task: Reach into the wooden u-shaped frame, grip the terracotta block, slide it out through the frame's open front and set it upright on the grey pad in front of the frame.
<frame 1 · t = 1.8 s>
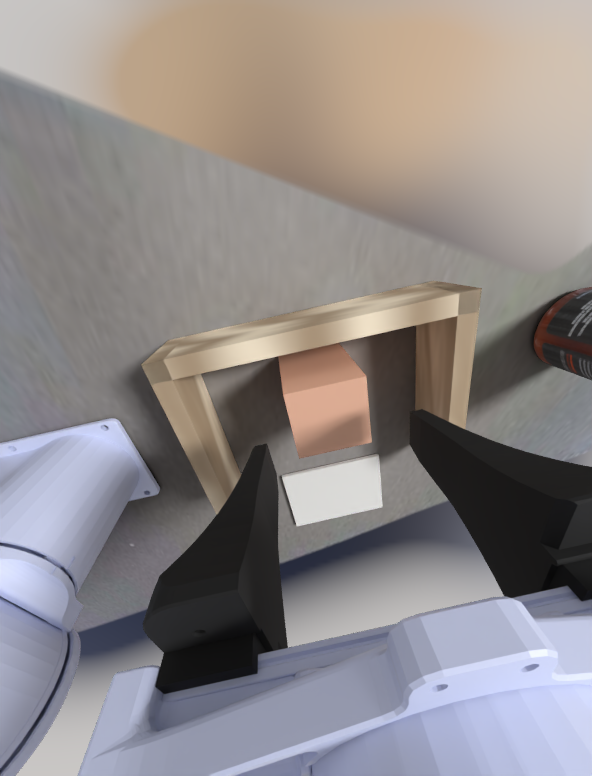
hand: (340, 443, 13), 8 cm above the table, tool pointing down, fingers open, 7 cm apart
wooden u-shaped frame: (316, 394, 21), on the table
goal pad: (334, 490, 26), on the table
supplement bottle: (564, 325, 21), on the table
block: (313, 376, 21), on the table
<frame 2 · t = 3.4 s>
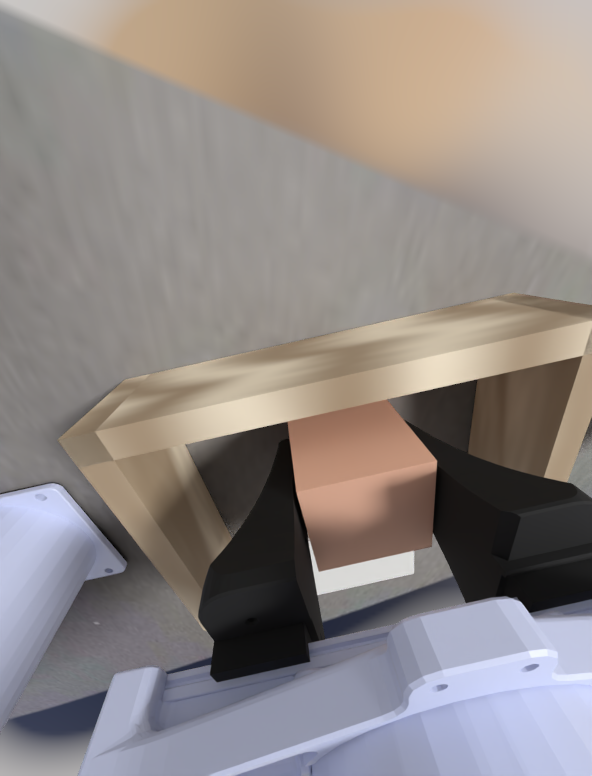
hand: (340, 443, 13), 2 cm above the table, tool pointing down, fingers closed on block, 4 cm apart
wooden u-shaped frame: (336, 446, 15), on the table
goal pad: (354, 556, 20), on the table
block: (333, 424, 15), on the table, touching gripper
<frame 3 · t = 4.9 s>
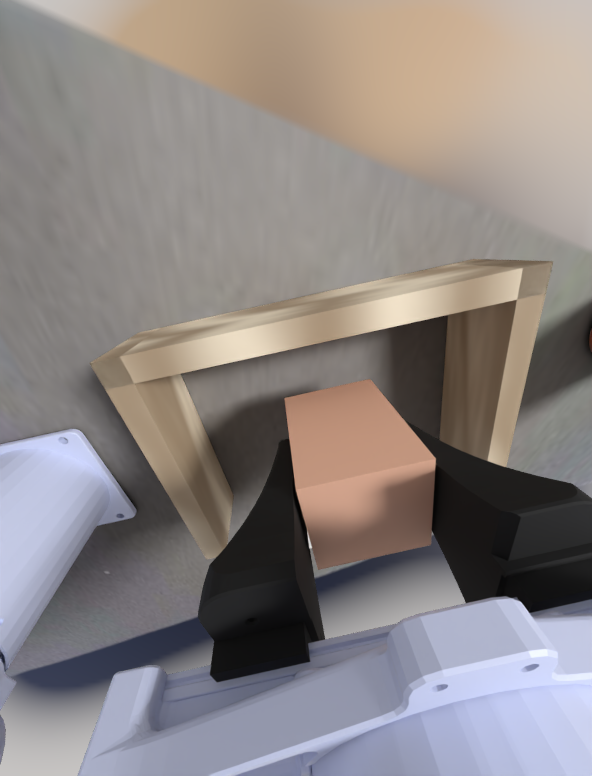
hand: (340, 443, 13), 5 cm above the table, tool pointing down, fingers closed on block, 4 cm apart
wooden u-shaped frame: (323, 400, 17), on the table
block: (333, 423, 15), point 3 cm above the table, touching gripper
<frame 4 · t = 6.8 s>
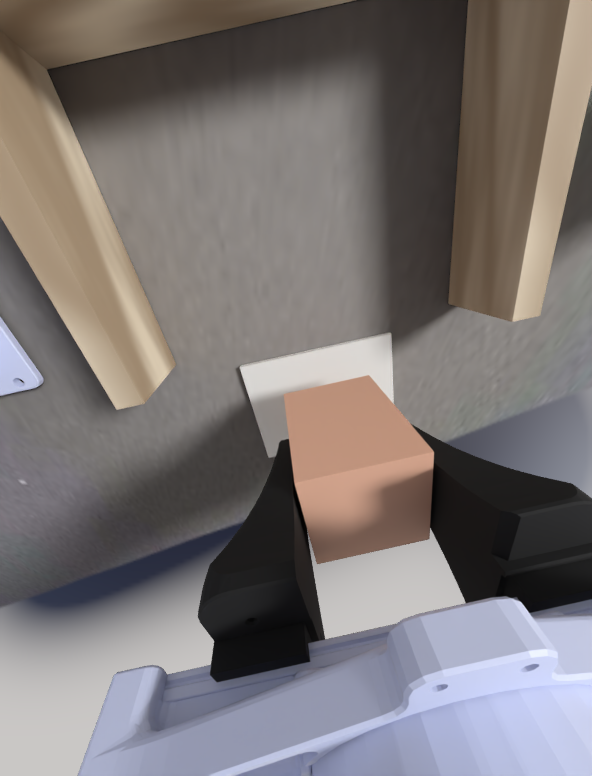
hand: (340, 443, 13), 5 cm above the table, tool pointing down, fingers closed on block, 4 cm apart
wooden u-shaped frame: (288, 197, 12), on the table
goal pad: (323, 399, 17), on the table
block: (332, 420, 15), point 3 cm above the table, touching gripper
when the fingers open (3 cm above the table, at t = 8.1 s): block stays where it is, resting on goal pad.
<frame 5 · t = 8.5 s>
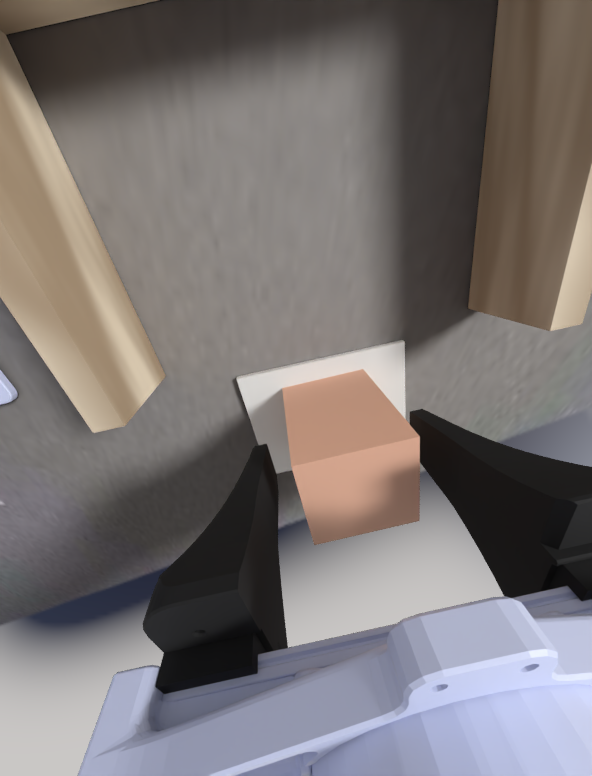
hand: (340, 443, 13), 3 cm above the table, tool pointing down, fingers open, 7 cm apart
wooden u-shaped frame: (290, 187, 11), on the table
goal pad: (328, 412, 16), on the table
block: (328, 412, 16), resting on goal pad
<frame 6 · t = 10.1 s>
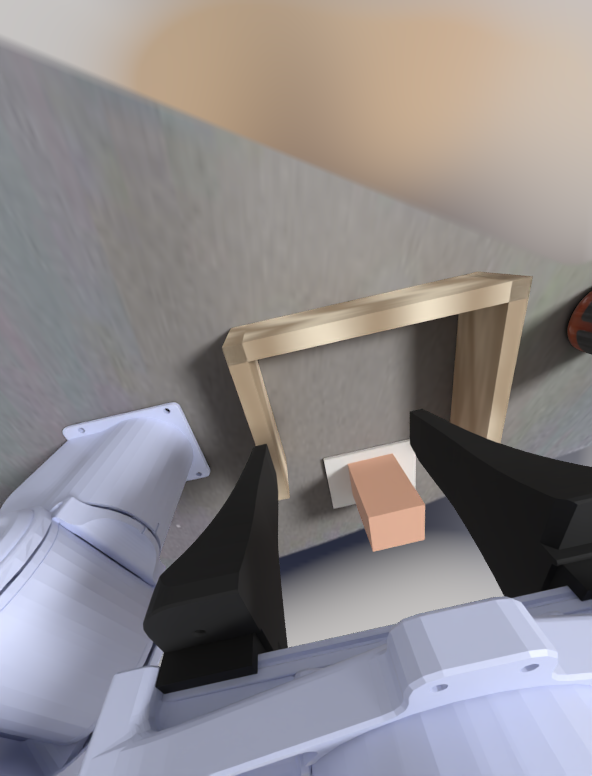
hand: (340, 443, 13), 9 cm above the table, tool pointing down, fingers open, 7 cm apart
wooden u-shaped frame: (362, 379, 22), on the table
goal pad: (371, 474, 28), on the table
block: (371, 475, 27), resting on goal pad
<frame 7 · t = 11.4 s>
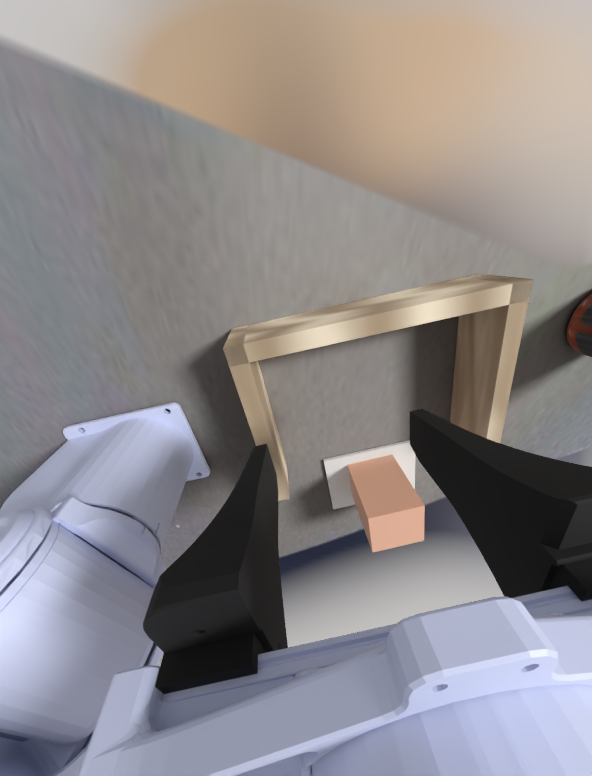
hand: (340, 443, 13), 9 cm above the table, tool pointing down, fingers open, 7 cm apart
wooden u-shaped frame: (362, 381, 23), on the table
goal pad: (370, 475, 28), on the table
block: (371, 475, 27), resting on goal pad
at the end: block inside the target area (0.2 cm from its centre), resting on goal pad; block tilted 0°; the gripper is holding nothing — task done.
